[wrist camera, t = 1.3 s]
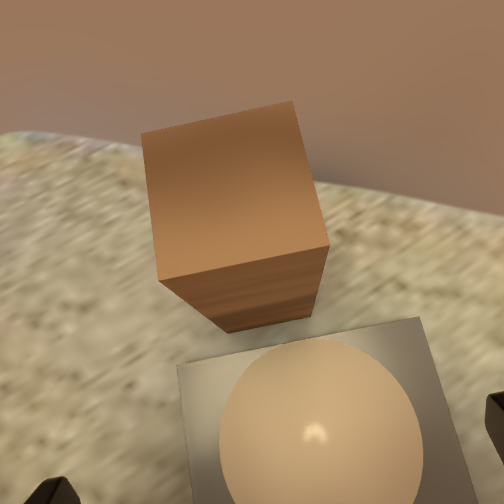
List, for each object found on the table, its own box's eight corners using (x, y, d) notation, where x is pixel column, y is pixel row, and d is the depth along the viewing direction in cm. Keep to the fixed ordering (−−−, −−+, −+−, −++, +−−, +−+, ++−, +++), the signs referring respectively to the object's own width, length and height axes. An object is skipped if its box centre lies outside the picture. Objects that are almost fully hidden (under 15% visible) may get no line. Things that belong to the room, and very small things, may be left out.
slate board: (514, 657, 17) (537, 686, 15) (228, 706, 17) (221, 739, 16) (410, 320, 21) (420, 315, 20) (184, 366, 22) (175, 364, 20)
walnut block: (310, 316, 22) (329, 244, 11) (227, 333, 22) (158, 280, 11) (292, 238, 23) (292, 100, 12) (214, 254, 24) (140, 133, 12)
